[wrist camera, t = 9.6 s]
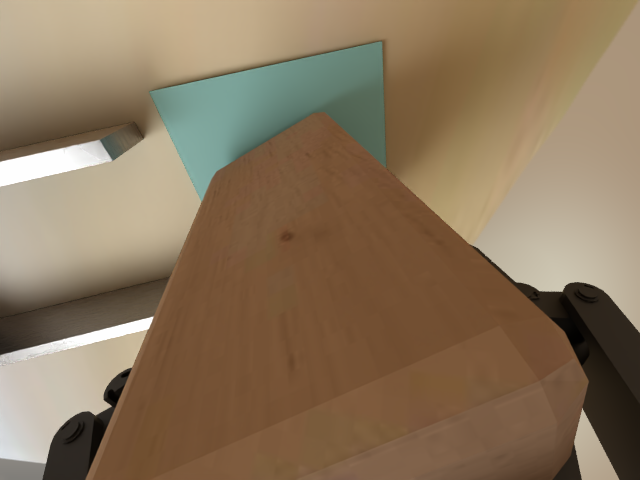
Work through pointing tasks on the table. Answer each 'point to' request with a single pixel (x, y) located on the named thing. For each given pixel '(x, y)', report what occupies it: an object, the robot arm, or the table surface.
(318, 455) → the wooden block
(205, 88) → the pad
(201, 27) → the table surface
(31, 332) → the chute
